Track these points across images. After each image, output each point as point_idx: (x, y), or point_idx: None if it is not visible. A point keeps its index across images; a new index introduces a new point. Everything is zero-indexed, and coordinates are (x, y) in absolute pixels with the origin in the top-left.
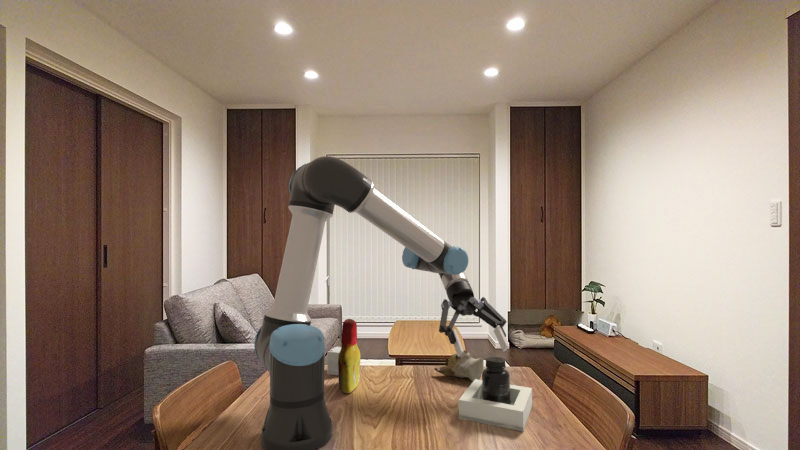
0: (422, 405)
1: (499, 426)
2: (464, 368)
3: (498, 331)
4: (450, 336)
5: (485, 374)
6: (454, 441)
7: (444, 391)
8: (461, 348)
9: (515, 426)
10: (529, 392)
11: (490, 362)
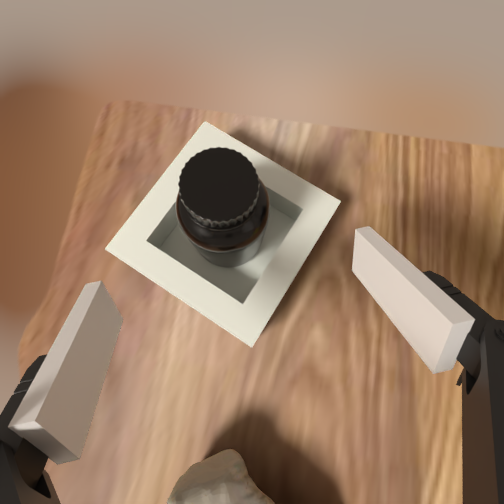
0: None
1: None
2: (252, 489)
3: (66, 384)
4: (461, 294)
5: (265, 190)
6: (353, 135)
7: (332, 384)
8: (371, 234)
9: None
10: (130, 219)
11: (250, 162)
